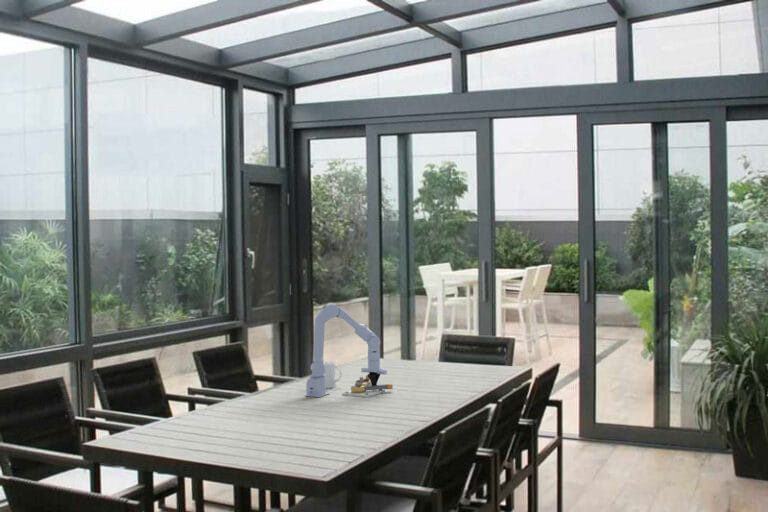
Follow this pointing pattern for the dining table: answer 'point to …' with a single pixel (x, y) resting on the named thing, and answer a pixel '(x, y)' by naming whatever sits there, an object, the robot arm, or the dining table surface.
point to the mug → (331, 374)
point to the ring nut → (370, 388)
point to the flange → (363, 394)
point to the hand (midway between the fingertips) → (374, 388)
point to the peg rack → (364, 381)
